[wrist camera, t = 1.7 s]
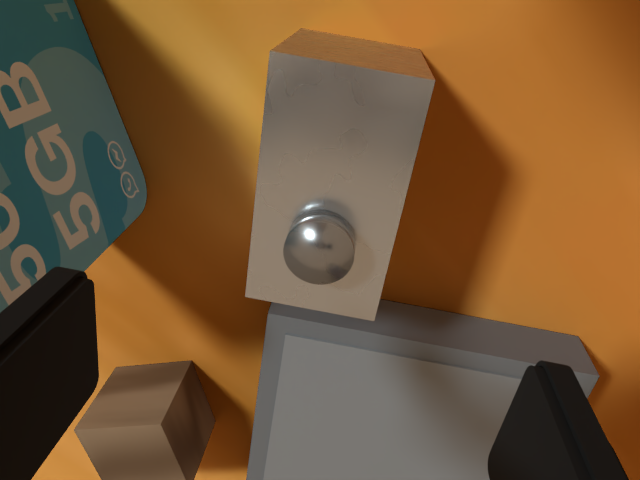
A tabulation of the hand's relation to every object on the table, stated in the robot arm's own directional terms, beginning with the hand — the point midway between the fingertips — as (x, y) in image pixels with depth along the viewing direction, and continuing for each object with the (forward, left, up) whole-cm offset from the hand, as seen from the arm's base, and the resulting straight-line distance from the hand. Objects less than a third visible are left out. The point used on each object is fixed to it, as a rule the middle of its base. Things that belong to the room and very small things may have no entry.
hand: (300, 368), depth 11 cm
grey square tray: (+15, +6, -14) cm, 22 cm away
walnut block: (+17, -8, -15) cm, 24 cm away
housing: (-1, 0, -15) cm, 15 cm away
